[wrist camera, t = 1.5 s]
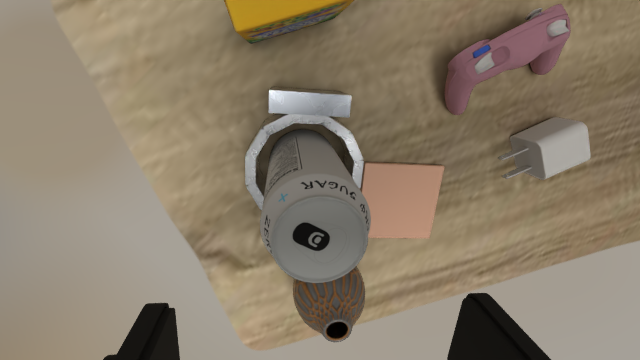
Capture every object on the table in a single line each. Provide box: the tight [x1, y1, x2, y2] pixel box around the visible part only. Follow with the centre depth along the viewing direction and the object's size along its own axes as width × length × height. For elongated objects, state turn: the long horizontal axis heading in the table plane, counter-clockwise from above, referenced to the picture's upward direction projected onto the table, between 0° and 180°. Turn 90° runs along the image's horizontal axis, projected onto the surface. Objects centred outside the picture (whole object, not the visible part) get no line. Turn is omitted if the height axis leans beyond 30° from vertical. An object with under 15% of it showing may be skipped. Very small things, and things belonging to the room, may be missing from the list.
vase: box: [293, 266, 365, 342], centre depth 29 cm, size 7×7×9 cm
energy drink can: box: [260, 130, 371, 283], centre depth 22 cm, size 6×6×15 cm
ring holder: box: [245, 87, 364, 210], centre depth 27 cm, size 13×10×5 cm
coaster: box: [361, 162, 445, 238], centre depth 32 cm, size 8×8×1 cm
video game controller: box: [445, 4, 570, 115], centre depth 26 cm, size 10×5×7 cm, turn 115°
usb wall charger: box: [498, 117, 591, 180], centre depth 30 cm, size 4×7×4 cm, turn 113°
